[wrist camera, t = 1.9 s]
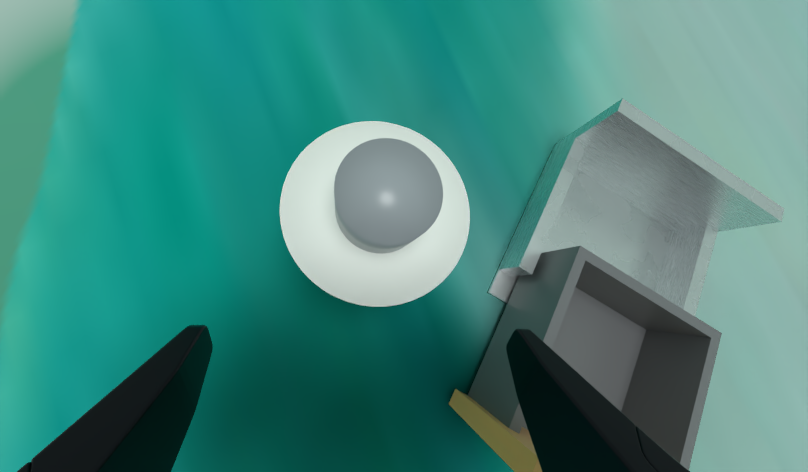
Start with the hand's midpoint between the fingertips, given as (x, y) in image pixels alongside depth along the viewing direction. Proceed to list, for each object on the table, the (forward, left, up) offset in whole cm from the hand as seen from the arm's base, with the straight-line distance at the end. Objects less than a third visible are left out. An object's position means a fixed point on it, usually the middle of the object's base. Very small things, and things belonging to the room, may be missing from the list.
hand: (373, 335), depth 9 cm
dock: (+15, -11, -11) cm, 21 cm away
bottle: (+3, +2, -11) cm, 12 cm away
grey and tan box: (+7, -13, -11) cm, 18 cm away
